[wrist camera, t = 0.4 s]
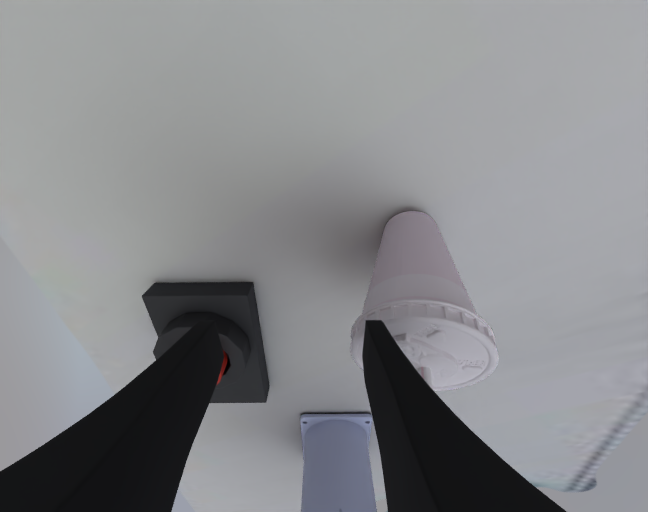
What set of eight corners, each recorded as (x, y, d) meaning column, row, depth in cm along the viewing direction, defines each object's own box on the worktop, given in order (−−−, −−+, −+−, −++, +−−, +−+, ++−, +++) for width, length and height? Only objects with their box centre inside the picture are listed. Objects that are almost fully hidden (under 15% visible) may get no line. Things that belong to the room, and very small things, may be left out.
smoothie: (391, 275, 22) (388, 497, 12) (347, 219, 19) (296, 447, 9) (473, 246, 19) (566, 520, 9) (435, 174, 16) (507, 454, 6)
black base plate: (269, 386, 28) (263, 420, 25) (192, 386, 28) (176, 421, 25) (253, 281, 22) (241, 310, 19) (154, 282, 22) (126, 310, 19)
